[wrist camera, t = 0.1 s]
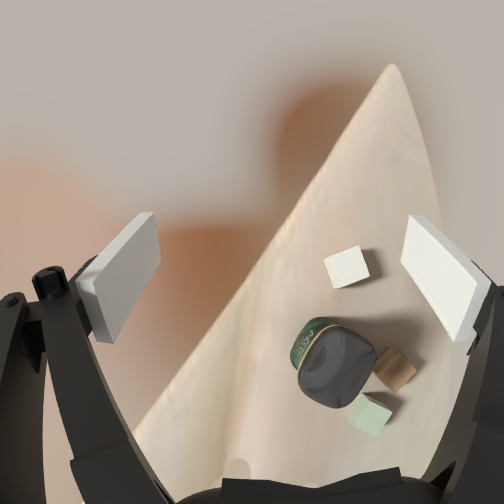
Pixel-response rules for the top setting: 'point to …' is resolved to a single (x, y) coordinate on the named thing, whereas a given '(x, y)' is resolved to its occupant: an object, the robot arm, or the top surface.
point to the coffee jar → (332, 362)
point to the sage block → (368, 415)
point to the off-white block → (346, 267)
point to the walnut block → (393, 369)
